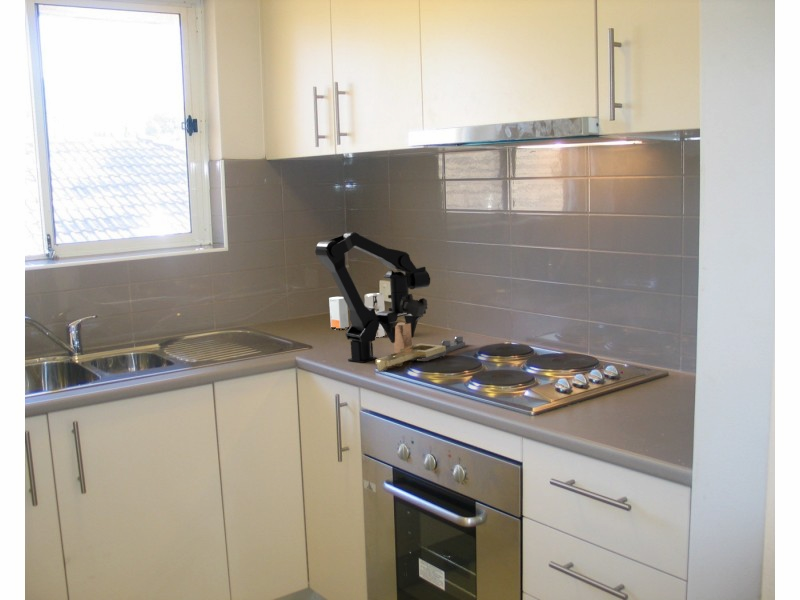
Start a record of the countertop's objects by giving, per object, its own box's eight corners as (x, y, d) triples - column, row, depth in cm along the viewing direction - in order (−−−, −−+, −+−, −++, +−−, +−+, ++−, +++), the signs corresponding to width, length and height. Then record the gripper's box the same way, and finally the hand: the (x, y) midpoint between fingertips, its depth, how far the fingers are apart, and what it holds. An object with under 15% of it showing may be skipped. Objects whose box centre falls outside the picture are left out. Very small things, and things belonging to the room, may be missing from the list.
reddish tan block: (404, 353, 255) (402, 325, 254) (394, 352, 258) (392, 324, 256) (412, 351, 258) (410, 323, 257) (402, 350, 261) (400, 322, 259)
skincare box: (330, 329, 307) (328, 297, 306) (339, 327, 310) (337, 296, 308) (340, 330, 303) (338, 298, 301) (349, 328, 306) (347, 297, 304)
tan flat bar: (392, 373, 229) (392, 362, 229) (366, 369, 235) (365, 359, 235) (474, 346, 260) (473, 336, 260) (448, 343, 267) (448, 334, 266)
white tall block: (387, 334, 290) (384, 292, 288) (385, 337, 283) (382, 295, 281) (368, 334, 291) (365, 293, 289) (365, 338, 284) (362, 296, 282)
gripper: (400, 296, 243) (403, 347, 245) (438, 288, 257) (440, 336, 259) (372, 295, 250) (375, 344, 252) (410, 287, 264) (413, 334, 266)
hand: (402, 340), depth 257 cm, fingers open, 9 cm apart
